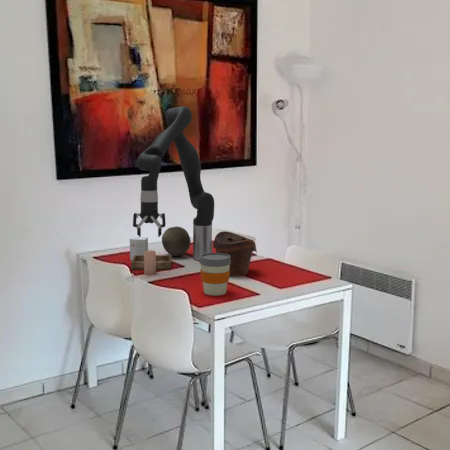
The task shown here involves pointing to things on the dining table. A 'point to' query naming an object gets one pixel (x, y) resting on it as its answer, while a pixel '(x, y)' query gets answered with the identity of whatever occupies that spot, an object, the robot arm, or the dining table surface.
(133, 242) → the small box
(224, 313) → the dining table surface
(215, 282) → the reusable coffee cup
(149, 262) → the tan round cylinder
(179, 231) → the cantaloupe
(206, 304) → the dining table surface
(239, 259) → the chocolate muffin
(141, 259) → the tray
